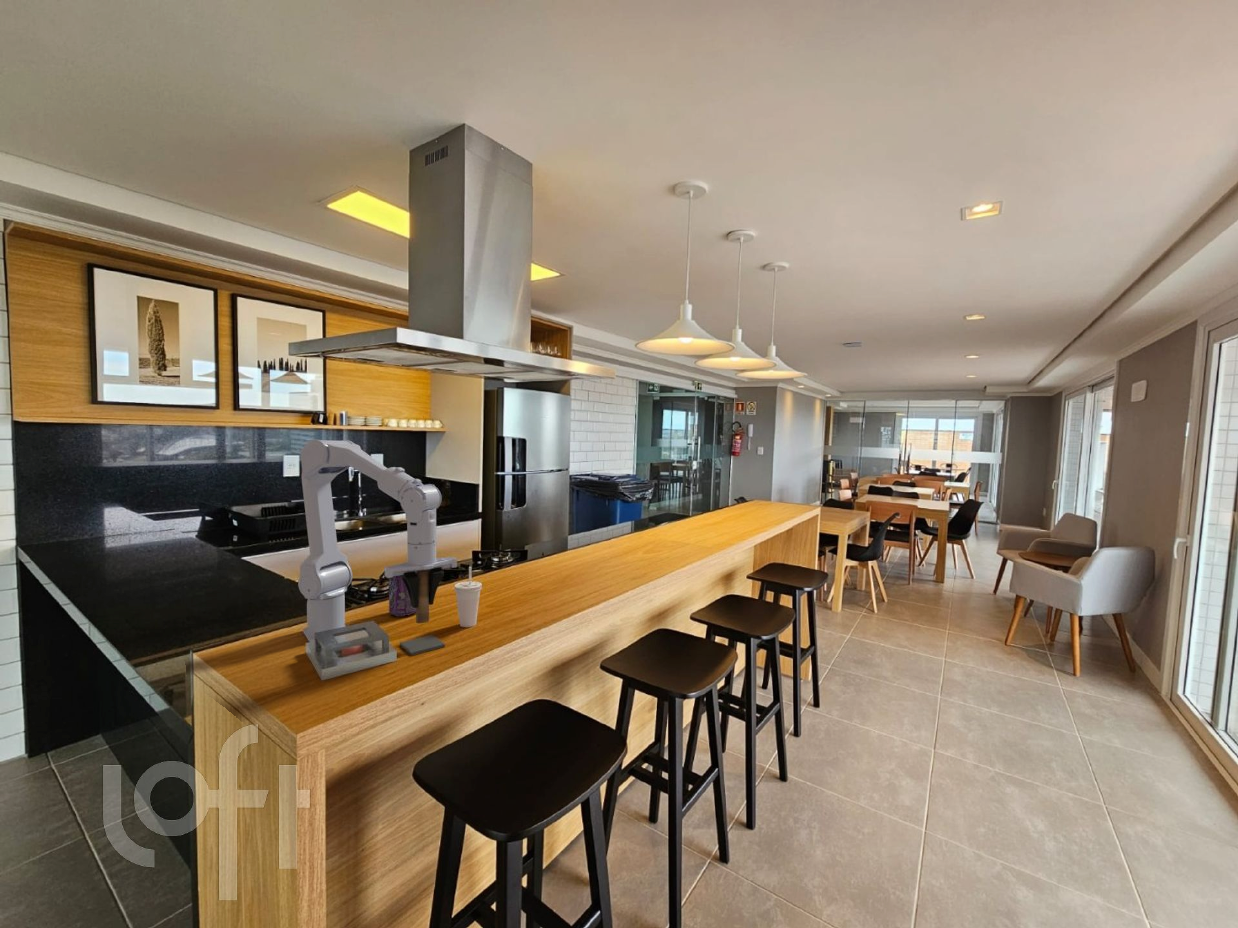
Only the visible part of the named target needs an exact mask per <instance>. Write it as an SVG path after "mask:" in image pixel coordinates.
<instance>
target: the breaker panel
mask: <svg viewBox="0 0 1238 928" xmlns="http://www.w3.org/2000/svg"><path fill="white" fill-rule="evenodd" d="M349 633H350V634H349ZM344 634H345V635H344ZM340 635H341V636H340ZM335 636H336V637H335ZM359 645H362V653H358V654H354V655H350V656H346V657H342V649H346V648H350V647H355V646H359ZM397 652H398V651H397V650H396V649H395V648H394V646H393V645H392V644H390V635H389V634H388V633H387V632H386V631H385V630H384V629H383V628H382V627H381V626H379V624H377V623H376V622H375V620H370V621H365V622H360V623H357V624H356V623H355V624H351V625H345V627H341V628H336V629H331V630H326V631H321V632H317V633H315V641H313V642H309V641H308V642H305V654H306V656H307V657H308V659H309V660H310V662H311V663H312V664H311V665H313V666H312V667H314V669H315V671H316V673H317V674H318V676H319V678H320V680H321V681H325V680H329V679H333V678H337V677H340V676H344V675H349V674H352V673H355V672H359V671H364V670H366V669H371V668H374V667H378V666H381V665H385V664H390V663H393V662H397V660H398V657H397V654H398V653H397Z"/></svg>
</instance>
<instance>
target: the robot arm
mask: <svg viewBox="0 0 1238 928" xmlns="http://www.w3.org/2000/svg"><path fill="white" fill-rule="evenodd" d="M299 454H300V461H301V485H302V494H303V503H304V510H305V521H306V530H307V538H308V547H309V548H308V549H309V555H308V556H307V557H306V558H305V559H304V560H303V561H302V563H300V565H299V571H300V572H299V578H298V582H297V583H298V584H297V585H298V589H299V591H300V593H301V594H302V596H303V597H304V599H307V601H306V627H303V628H301V629H302V630H301V631H302V633H303V634H304V636H305V638H307V641H308V643H309V642H313V641H315V633H317V632H321V631H326V630H331V629H336V628H341V627H345V626H346V624H345V623H346V621H345V619H346V618H345V617H346V615H345V614H346V612H345V611H346V610H345V609H346V605H345V592H347V591H348V587H349V585H350V584H351V583H352V581H353V571H352V568H351V566H350V564H349V562H348V561H349V560H348V556H347V555H346V554H345V553H343V552H342V551H340V550H339V547H338V538H337V532H336V531H337V529H336V521H335V512H334V511H335V510H334V504H333V502H334V501H333V494H332V487H331V486H332V485H331V484H332V481H333V480H334V479H335V478H336V477H337V476H338V475H339V474H342V473H343V472H345V471H346V470H348V469H349V468H353V469H354V470H355V471H358V472H360V473H361V474H363V475H365V476H366V477H369V478H371V479H373V480H375V481H376V482H377V487H378V490H380V491H381V492H383V493H385V494H386V495H388V496H389V497H391V498H393V499H394V500H396V501H397V502H399V503H400V506H401V509H402V511H404V513H405V515H404V516H405V520H406V524H407V525H406V526H407V527H406V528H407V532H406V534H407V535H406V536H407V539H406V540H407V541H406V543H407V544H406V545H407V547H406V549H407V554H406V555H407V561H406V562H402V563H398V564H394V565H389V566H388V565H387V566H385V567H384V577H385V578H387V579H389V578H391V577H393V576H398V575H400V577H401V579H402V580H403V582H404V584H405V586H406V588H407V591H408V594H409V597H410V601H411V606H412V607H414V608H418V586H419V580H420V578H419V577H417V574H416V573H417V572H416V571H422V570H428V569H429V606H432V605H434V602H435V597H436V595H437V590H438V588H439V585H440V583H441V581H442V579H443V578H444V575H445V571H444V570H443V569H446V568H448V569H449V568H457V567H458V562H457V561H458V558H456V557H454V556H450V557H441V558H439V557H438V558H437V509H439V507H440V506H441V503H442V499H443V498H442V494H441V491H440V490H439V488H438V487H436V486H435V484H431V483H428V484H427V483H426V484H423V483H422V480H421V479H419V478H414V477H412V476H411V475H409V474H407V473H406V472H405V471H406V470H405V468H403V467H401V466H400V467H396V466H393V467H392V466H391V467H386V466H385V465H383V464H382V463H381V462H380V461H378V460H376V459H375V458H374V457H373V456H371V455H369V454H368V453H367V452H365V451H364V450H363V449H362V448H361V446H360V445H359V444H357V443H354V442H353V441H351V440H349V439H344V440H329V439H327V440H325V439H311V440H309V441H307V443H306V444H305V445H304V446H303V447H302V449H301V450H300V453H299ZM349 634H350V633H349ZM344 635H345V634H344ZM340 636H341V635H340ZM335 637H336V636H335Z"/></svg>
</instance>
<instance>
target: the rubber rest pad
mask: <svg viewBox="0 0 1238 928" xmlns="http://www.w3.org/2000/svg"><path fill="white" fill-rule="evenodd" d="M399 645H400V646H399V647H401V648H402V649H403V650H404V651H406V652H407V654H409V655H410V656H411V657H412V656H416V655H419V654H423V653H427V652H430V651H434V650H439V649H443V648H445V647H446V644H445V643H444V642H443V641H442V640H440V638H438V637H437V636H436V635H435V634H430V635H426V636H421V637H418V638H417V637H416V638H412V639H409V640H405V641H401V642H400V643H399Z"/></svg>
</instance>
